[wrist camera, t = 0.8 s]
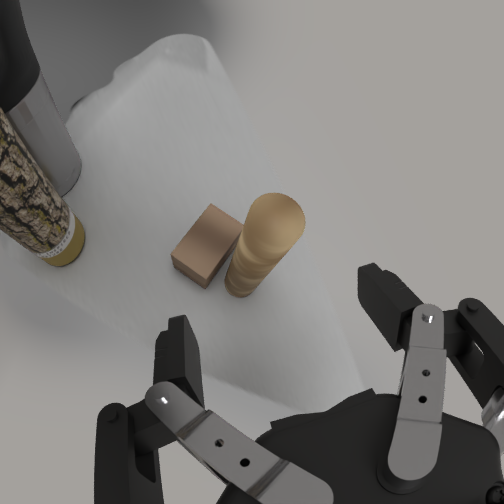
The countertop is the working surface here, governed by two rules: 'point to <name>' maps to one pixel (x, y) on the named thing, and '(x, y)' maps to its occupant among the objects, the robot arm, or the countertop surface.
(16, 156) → the brown bark cylinder
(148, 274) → the countertop surface
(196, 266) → the wooden block
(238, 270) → the dowel
